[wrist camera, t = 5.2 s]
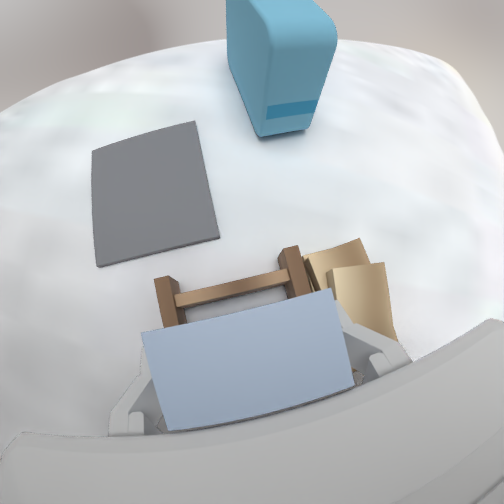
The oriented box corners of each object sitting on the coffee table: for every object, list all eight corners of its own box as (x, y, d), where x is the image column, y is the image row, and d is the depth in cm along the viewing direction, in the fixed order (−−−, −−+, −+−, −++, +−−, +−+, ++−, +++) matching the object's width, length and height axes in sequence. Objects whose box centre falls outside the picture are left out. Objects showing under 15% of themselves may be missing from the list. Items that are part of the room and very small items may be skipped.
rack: (197, 414, 19) (191, 428, 16) (165, 284, 21) (153, 279, 18) (323, 383, 19) (335, 392, 17) (290, 255, 22) (297, 245, 19)
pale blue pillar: (211, 365, 19) (168, 431, 7) (201, 325, 20) (140, 332, 7) (286, 347, 20) (354, 385, 7) (276, 308, 21) (331, 287, 8)
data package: (307, 136, 24) (344, 29, 13) (259, 144, 24) (272, 30, 12) (266, 57, 27) (276, -33, 15) (226, 62, 26) (225, -30, 15)
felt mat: (99, 267, 21) (96, 266, 20) (94, 154, 23) (92, 150, 23) (220, 238, 22) (219, 235, 21) (195, 124, 24) (195, 120, 23)
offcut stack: (327, 375, 20) (348, 388, 15) (297, 260, 22) (311, 244, 17) (382, 354, 20) (412, 360, 16) (354, 245, 22) (378, 228, 18)
